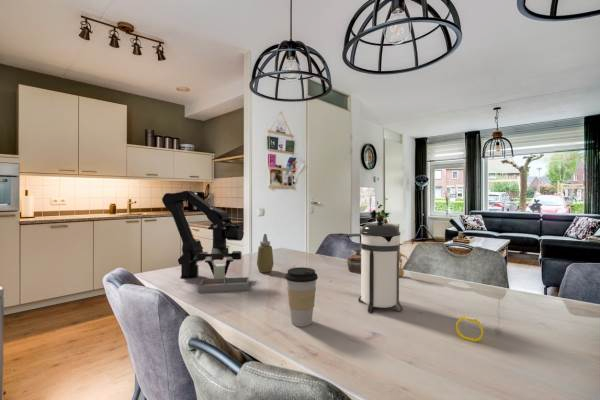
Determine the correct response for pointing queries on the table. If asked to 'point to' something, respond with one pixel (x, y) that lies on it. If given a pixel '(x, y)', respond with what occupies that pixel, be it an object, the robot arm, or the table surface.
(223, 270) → the sage block
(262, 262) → the squeeze bottle
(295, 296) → the coffee cup
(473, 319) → the yellow ring
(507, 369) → the table surface
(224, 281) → the board
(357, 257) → the cupcake
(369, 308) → the coffee press
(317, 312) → the table surface
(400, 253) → the figurine
